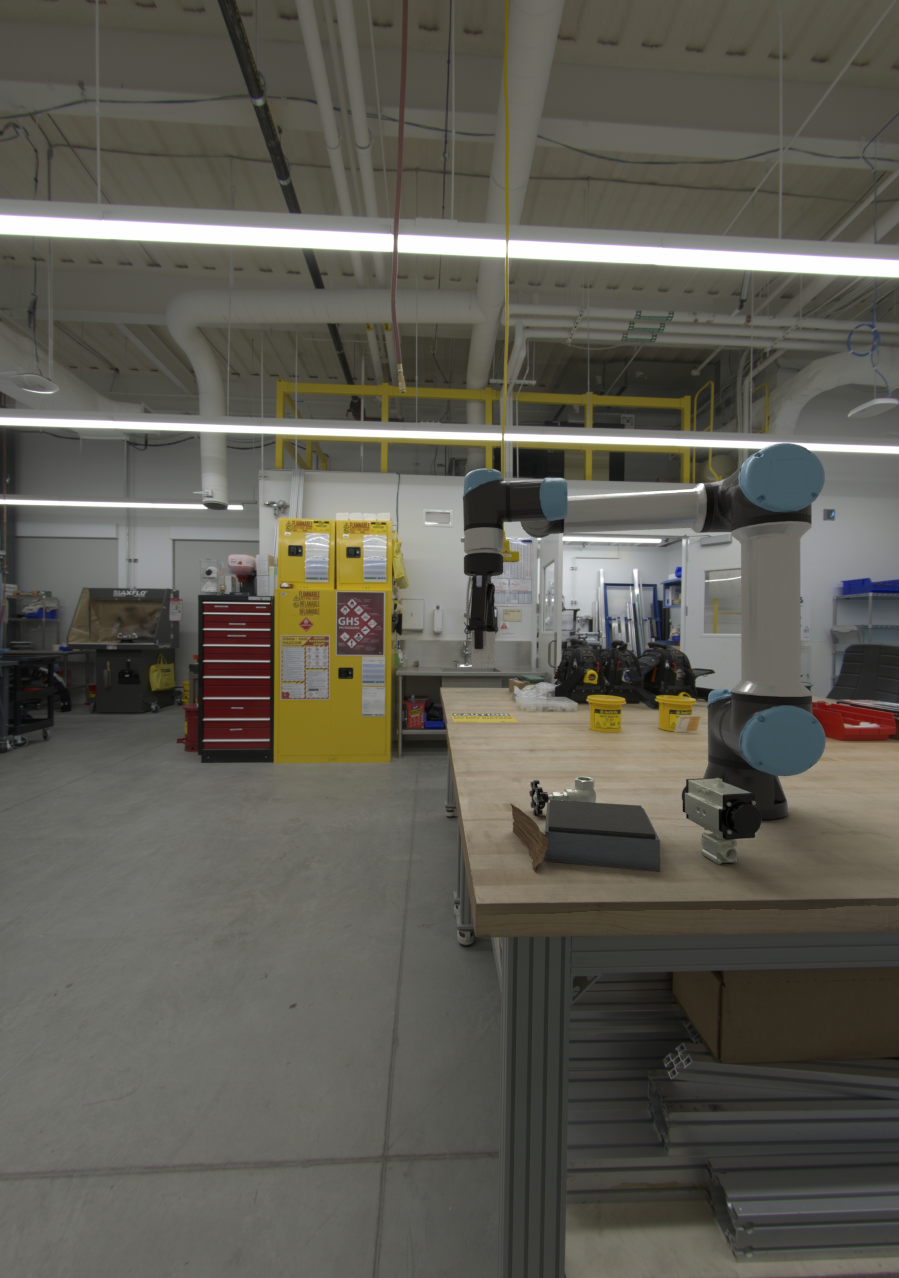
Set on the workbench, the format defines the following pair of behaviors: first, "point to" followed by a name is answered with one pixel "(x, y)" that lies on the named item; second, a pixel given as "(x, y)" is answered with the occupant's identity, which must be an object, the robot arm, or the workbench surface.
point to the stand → (601, 835)
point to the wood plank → (529, 836)
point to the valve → (563, 794)
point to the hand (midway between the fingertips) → (484, 666)
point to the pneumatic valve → (720, 816)
